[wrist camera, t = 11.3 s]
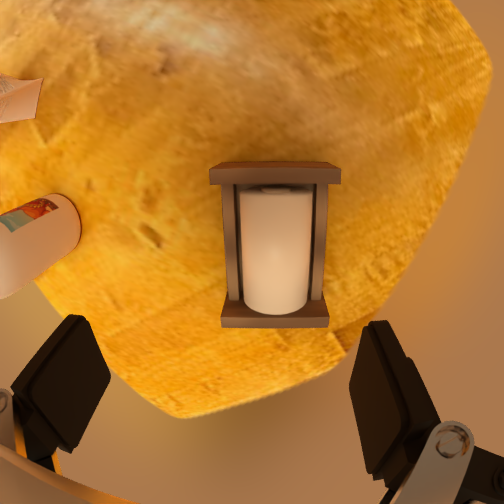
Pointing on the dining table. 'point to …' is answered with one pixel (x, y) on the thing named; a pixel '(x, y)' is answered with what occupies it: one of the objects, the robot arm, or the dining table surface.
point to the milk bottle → (35, 239)
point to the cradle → (232, 183)
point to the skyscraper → (18, 98)
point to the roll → (275, 247)
